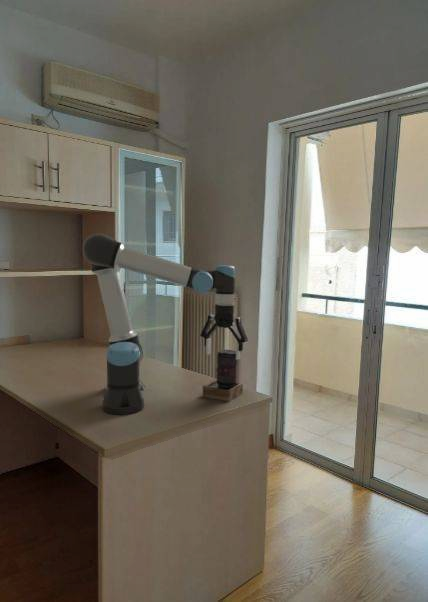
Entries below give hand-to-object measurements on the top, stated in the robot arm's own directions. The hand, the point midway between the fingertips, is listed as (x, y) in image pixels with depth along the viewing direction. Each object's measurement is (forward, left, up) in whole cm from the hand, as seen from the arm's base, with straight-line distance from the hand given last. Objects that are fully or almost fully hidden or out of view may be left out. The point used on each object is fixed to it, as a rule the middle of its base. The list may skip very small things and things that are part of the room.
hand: (222, 356), depth 179 cm
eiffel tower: (-14, +38, -16) cm, 44 cm away
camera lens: (0, -2, -13) cm, 13 cm away
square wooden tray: (0, 0, -16) cm, 16 cm away
